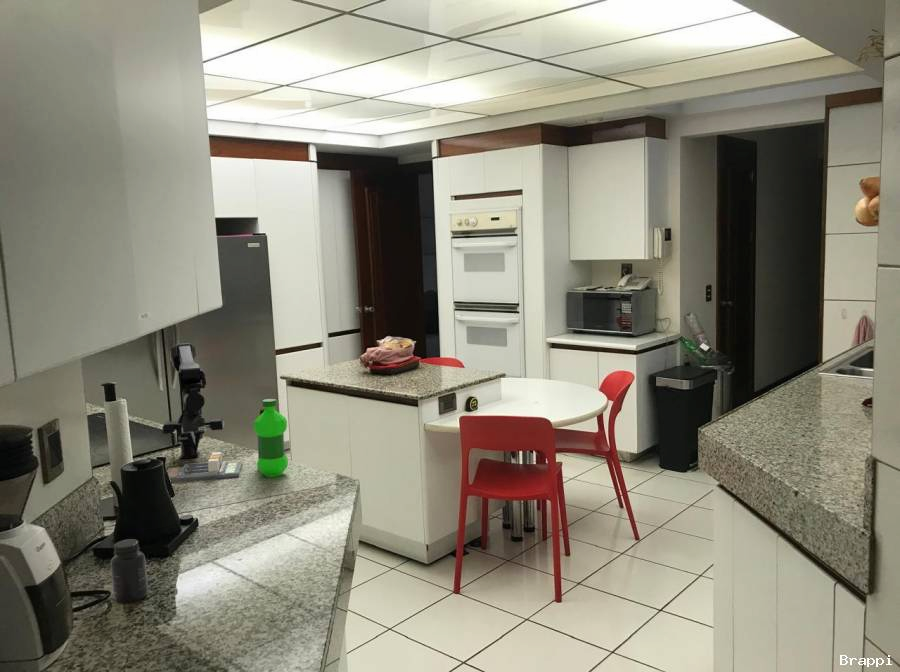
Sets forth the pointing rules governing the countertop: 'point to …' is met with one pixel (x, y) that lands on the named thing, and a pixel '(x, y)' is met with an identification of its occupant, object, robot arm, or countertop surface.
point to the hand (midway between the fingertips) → (195, 451)
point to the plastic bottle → (271, 440)
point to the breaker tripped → (216, 458)
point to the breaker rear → (218, 454)
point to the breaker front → (213, 465)
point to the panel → (203, 472)
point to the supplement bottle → (128, 572)
